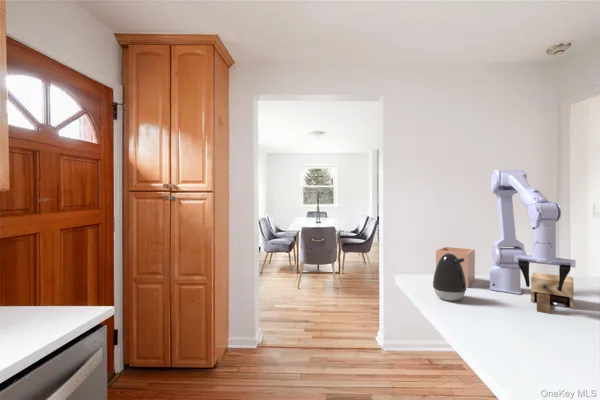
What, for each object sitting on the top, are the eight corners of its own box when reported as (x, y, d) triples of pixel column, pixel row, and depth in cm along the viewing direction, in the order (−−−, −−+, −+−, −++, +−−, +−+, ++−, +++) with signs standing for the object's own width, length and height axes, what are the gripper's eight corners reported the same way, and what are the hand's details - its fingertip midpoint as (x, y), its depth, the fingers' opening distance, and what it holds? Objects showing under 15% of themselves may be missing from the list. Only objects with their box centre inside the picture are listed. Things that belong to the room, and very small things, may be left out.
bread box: (530, 302, 106) (531, 277, 106) (533, 295, 113) (533, 272, 113) (573, 309, 99) (573, 283, 99) (572, 301, 107) (572, 277, 107)
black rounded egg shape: (452, 305, 103) (453, 257, 103) (426, 296, 112) (426, 252, 112) (473, 300, 107) (474, 254, 107) (446, 292, 117) (446, 250, 117)
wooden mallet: (536, 311, 98) (536, 294, 98) (539, 298, 110) (540, 283, 110) (567, 316, 93) (567, 299, 93) (566, 302, 106) (567, 287, 105)
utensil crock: (435, 282, 130) (436, 250, 130) (444, 277, 139) (444, 246, 139) (468, 288, 123) (468, 253, 123) (474, 281, 132) (474, 249, 132)
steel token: (550, 306, 103) (550, 302, 103) (551, 303, 106) (551, 299, 106) (567, 309, 101) (567, 305, 101) (567, 305, 104) (567, 301, 104)
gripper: (513, 242, 99) (513, 286, 99) (575, 246, 90) (575, 295, 90) (515, 239, 105) (515, 282, 105) (575, 243, 96) (575, 290, 96)
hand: (543, 288), depth 98 cm, fingers open, 7 cm apart
